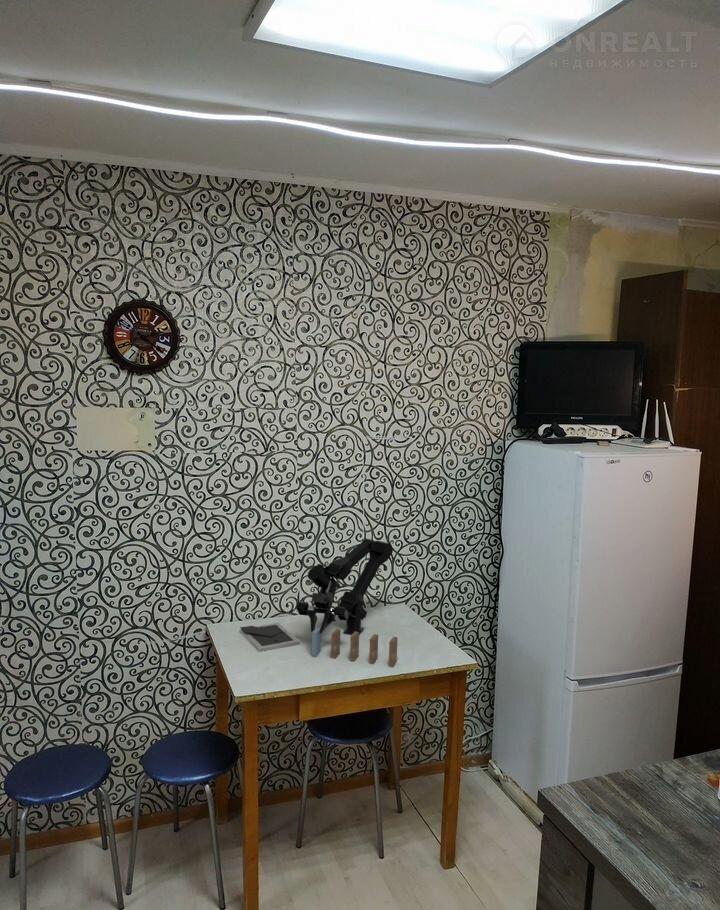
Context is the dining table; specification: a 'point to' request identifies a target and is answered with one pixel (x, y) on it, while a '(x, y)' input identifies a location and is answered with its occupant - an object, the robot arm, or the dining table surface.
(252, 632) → the picture frame
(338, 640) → the domino
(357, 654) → the domino
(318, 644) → the domino
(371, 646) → the domino
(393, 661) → the domino
